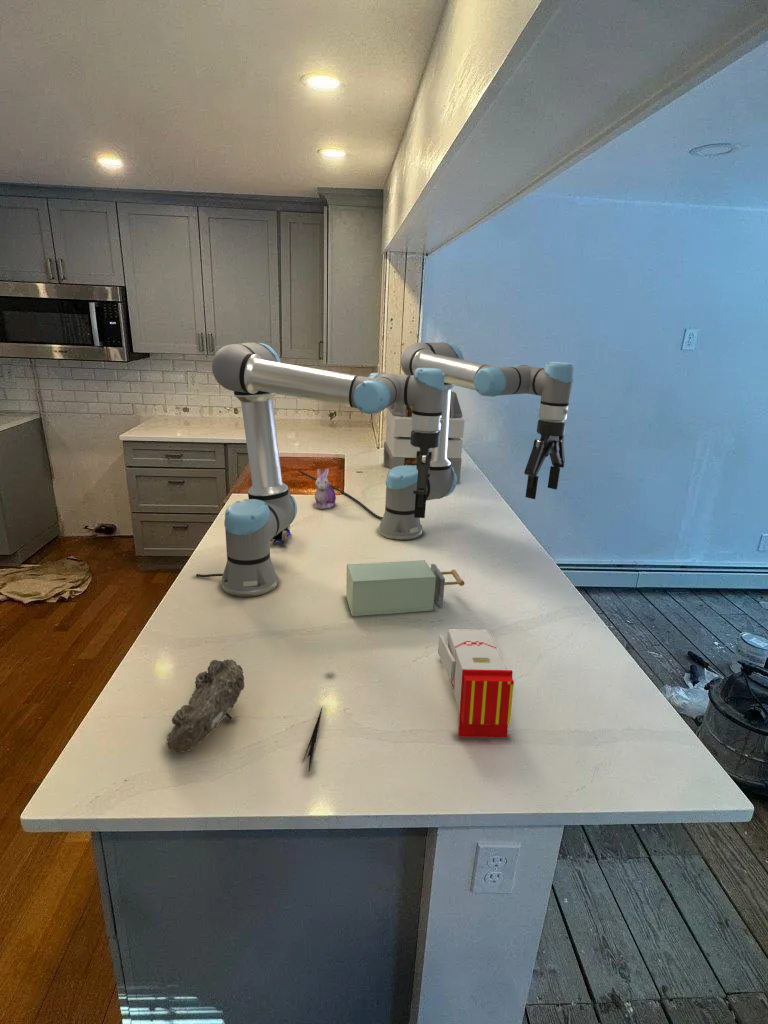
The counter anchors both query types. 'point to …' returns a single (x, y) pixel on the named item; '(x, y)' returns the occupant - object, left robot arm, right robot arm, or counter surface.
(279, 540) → the figurine character
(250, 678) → the counter surface
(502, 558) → the counter surface
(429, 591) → the cabinet
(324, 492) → the figurine
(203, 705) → the fossil
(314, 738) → the feather
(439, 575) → the drawer
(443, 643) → the toy
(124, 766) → the counter surface
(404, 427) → the transformer
